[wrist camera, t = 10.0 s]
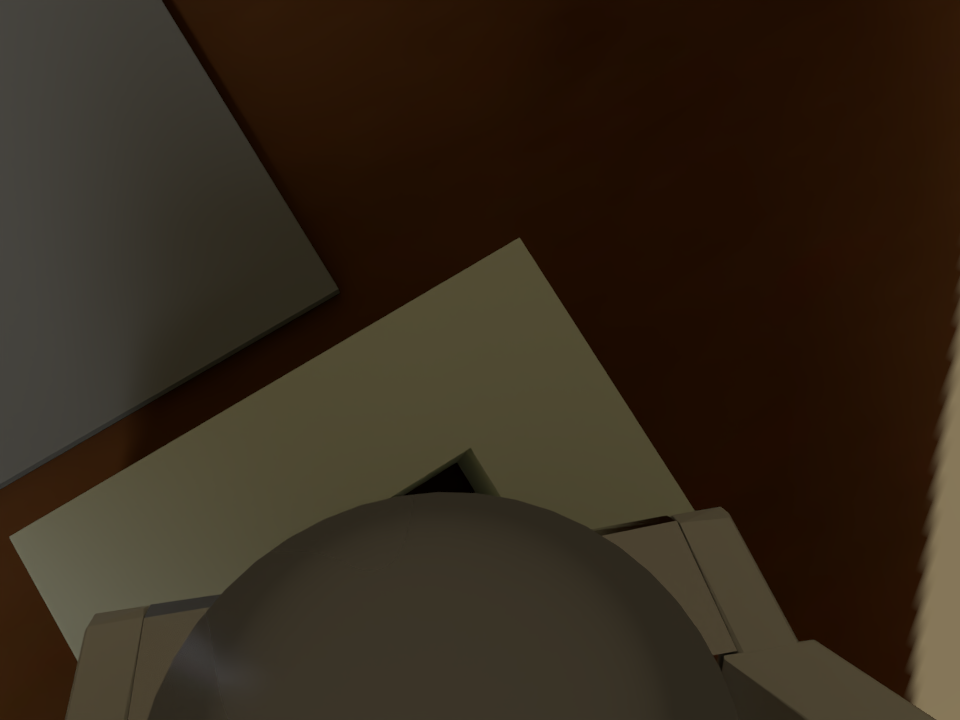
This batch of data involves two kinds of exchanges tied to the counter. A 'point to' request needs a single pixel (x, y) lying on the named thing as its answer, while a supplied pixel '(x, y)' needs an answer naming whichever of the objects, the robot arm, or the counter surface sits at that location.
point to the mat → (125, 224)
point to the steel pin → (445, 625)
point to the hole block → (363, 448)
